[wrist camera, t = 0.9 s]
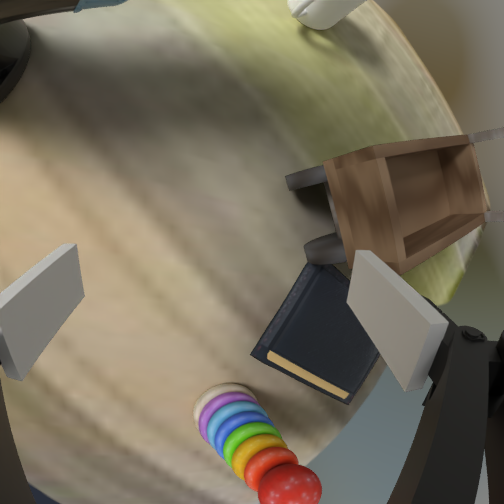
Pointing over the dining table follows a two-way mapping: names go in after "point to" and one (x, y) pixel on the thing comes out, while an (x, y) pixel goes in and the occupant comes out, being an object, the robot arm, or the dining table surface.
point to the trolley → (400, 199)
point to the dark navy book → (319, 336)
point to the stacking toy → (253, 446)
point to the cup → (321, 11)
